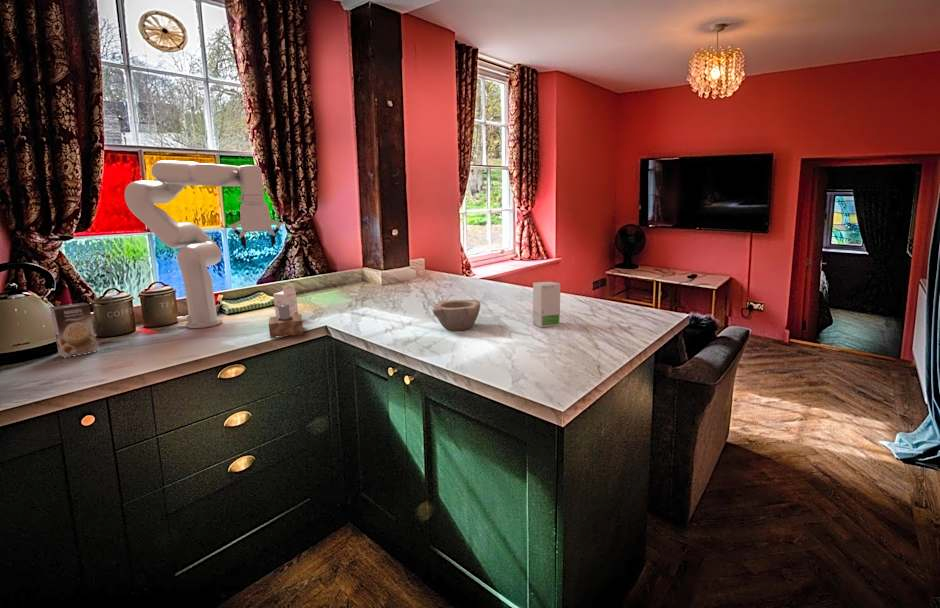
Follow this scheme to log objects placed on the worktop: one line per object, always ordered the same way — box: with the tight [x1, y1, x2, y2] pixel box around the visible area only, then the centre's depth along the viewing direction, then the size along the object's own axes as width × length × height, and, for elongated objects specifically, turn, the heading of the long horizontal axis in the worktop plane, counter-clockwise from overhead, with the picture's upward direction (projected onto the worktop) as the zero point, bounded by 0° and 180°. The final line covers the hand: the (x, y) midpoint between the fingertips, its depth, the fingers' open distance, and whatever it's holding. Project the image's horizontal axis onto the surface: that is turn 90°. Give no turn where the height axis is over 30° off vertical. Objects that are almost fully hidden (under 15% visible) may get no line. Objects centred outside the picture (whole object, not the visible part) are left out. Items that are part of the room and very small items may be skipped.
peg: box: [278, 304, 290, 321], centre depth 179 cm, size 4×4×10 cm
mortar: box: [432, 299, 481, 331], centre depth 180 cm, size 17×17×9 cm
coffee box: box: [49, 302, 99, 359], centre depth 159 cm, size 9×6×16 cm
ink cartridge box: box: [272, 282, 299, 317], centre depth 196 cm, size 9×5×15 cm, turn 168°
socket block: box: [268, 313, 304, 338], centre depth 180 cm, size 11×11×5 cm
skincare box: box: [532, 281, 561, 329], centre depth 180 cm, size 8×7×16 cm
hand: (259, 246), depth 185 cm, fingers open, 9 cm apart
